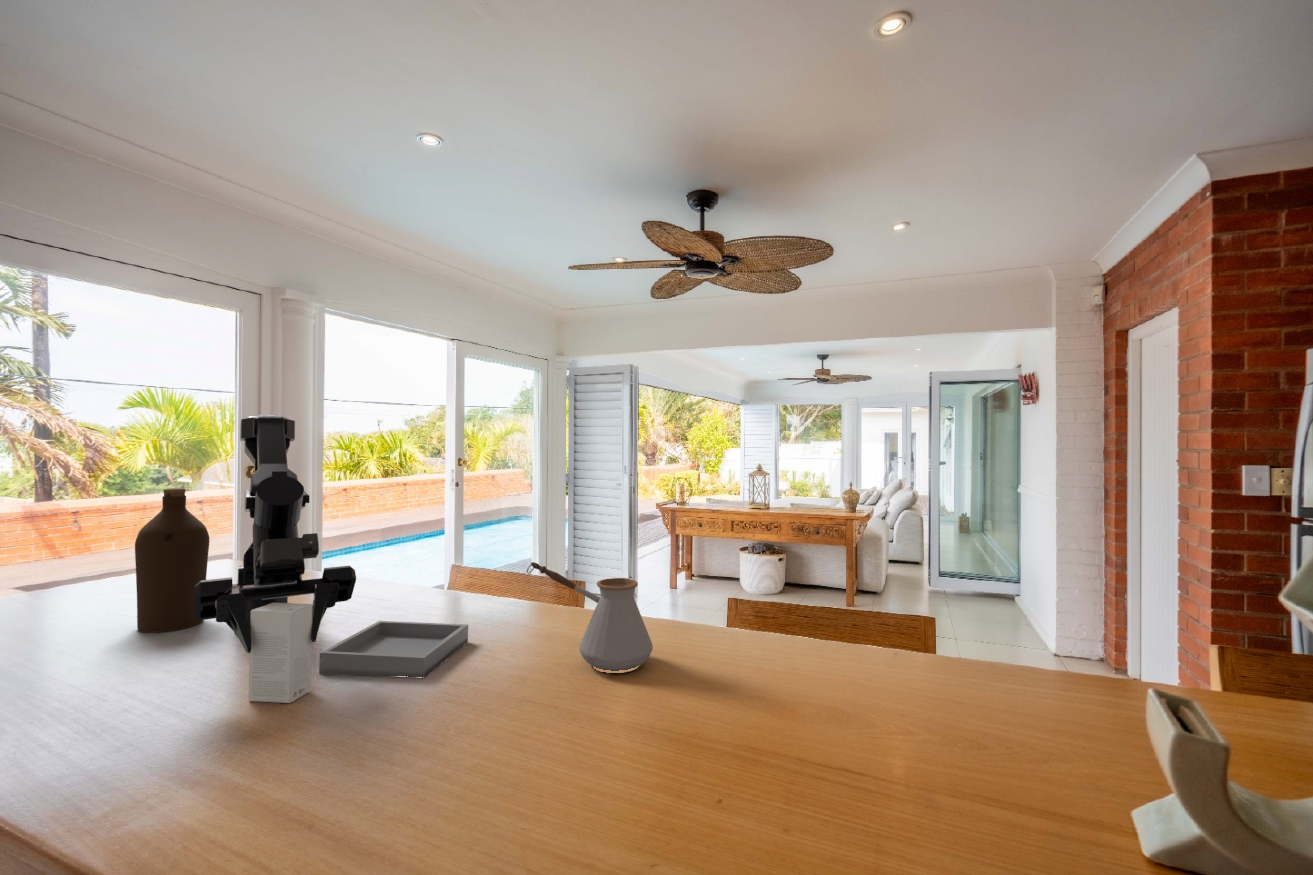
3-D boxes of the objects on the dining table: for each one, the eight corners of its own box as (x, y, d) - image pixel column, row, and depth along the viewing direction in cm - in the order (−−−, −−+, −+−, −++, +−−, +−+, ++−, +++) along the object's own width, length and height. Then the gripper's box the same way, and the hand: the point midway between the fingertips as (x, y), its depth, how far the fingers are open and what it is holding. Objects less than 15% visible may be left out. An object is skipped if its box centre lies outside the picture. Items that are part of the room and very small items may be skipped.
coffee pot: (661, 656, 96) (662, 564, 97) (639, 683, 85) (640, 579, 86) (543, 642, 103) (544, 555, 103) (508, 665, 92) (510, 568, 92)
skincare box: (312, 690, 81) (314, 603, 81) (289, 704, 77) (292, 612, 77) (270, 688, 82) (272, 601, 82) (246, 701, 78) (248, 610, 78)
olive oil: (219, 621, 111) (222, 488, 111) (150, 637, 101) (153, 491, 102) (189, 613, 116) (192, 485, 116) (121, 628, 106) (124, 488, 107)
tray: (319, 673, 87) (319, 652, 87) (378, 637, 103) (379, 620, 103) (423, 678, 86) (424, 657, 86) (467, 642, 102) (468, 624, 102)
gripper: (196, 519, 77) (193, 625, 68) (355, 511, 88) (369, 601, 79) (196, 569, 83) (192, 672, 74) (344, 555, 95) (356, 644, 86)
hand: (282, 645), depth 78 cm, fingers closed on skincare box, 7 cm apart
